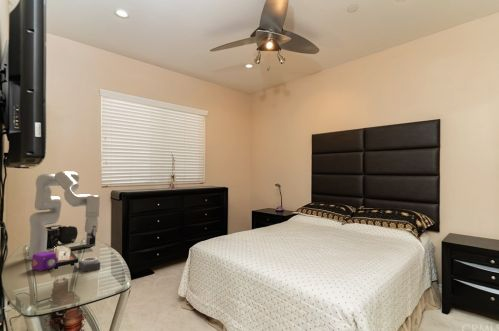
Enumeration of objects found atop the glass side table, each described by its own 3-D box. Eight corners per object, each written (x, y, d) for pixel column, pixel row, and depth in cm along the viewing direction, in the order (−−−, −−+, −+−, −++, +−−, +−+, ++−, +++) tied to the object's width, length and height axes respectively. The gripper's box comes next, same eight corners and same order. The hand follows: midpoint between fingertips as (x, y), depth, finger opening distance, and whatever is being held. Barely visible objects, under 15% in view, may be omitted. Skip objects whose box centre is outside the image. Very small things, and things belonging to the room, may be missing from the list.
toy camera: (46, 273, 158) (47, 256, 158) (27, 270, 160) (28, 254, 161) (62, 267, 168) (63, 251, 169) (44, 264, 171) (45, 249, 171)
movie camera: (46, 251, 197) (48, 227, 199) (30, 249, 203) (32, 226, 205) (84, 243, 227) (85, 222, 228) (69, 242, 232) (70, 221, 234)
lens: (84, 245, 169) (85, 232, 169) (93, 244, 172) (94, 231, 173) (87, 247, 165) (88, 234, 165) (96, 246, 169) (97, 232, 169)
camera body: (78, 267, 169) (78, 258, 169) (94, 264, 176) (94, 255, 176) (83, 272, 161) (84, 262, 161) (100, 268, 167) (100, 259, 168)
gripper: (81, 213, 173) (80, 241, 172) (89, 216, 161) (88, 246, 160) (94, 212, 178) (93, 239, 177) (103, 215, 166) (101, 244, 166)
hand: (90, 242), depth 169 cm, fingers closed on lens, 5 cm apart
